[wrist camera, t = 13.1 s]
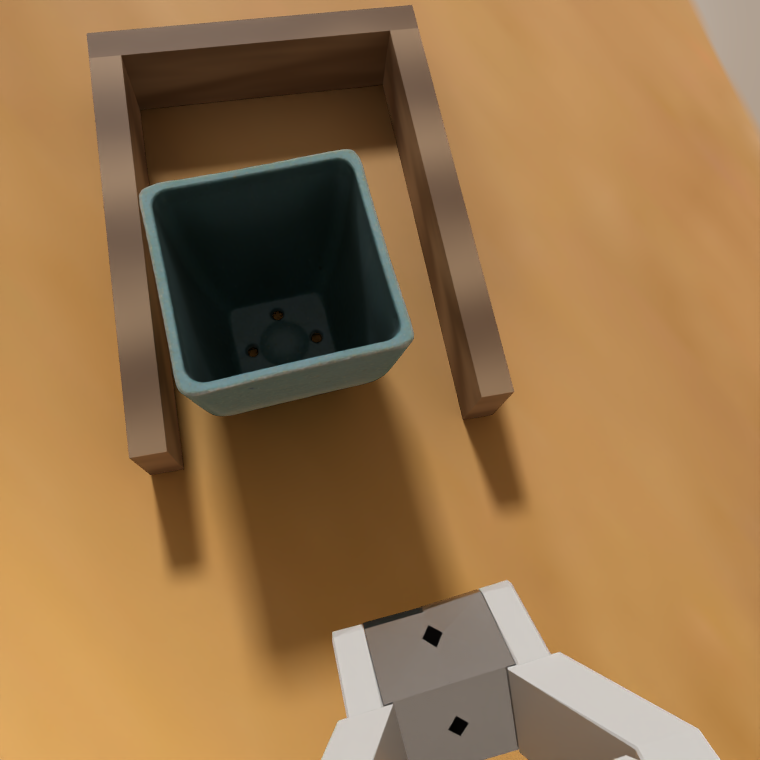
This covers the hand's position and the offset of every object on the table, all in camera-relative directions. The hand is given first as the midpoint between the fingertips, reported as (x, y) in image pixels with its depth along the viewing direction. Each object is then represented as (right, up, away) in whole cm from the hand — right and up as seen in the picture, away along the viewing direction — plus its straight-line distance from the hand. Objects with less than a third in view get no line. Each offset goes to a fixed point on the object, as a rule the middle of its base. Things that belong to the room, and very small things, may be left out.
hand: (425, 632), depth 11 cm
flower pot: (-6, +6, +24) cm, 25 cm away
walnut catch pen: (-5, +11, +25) cm, 28 cm away
